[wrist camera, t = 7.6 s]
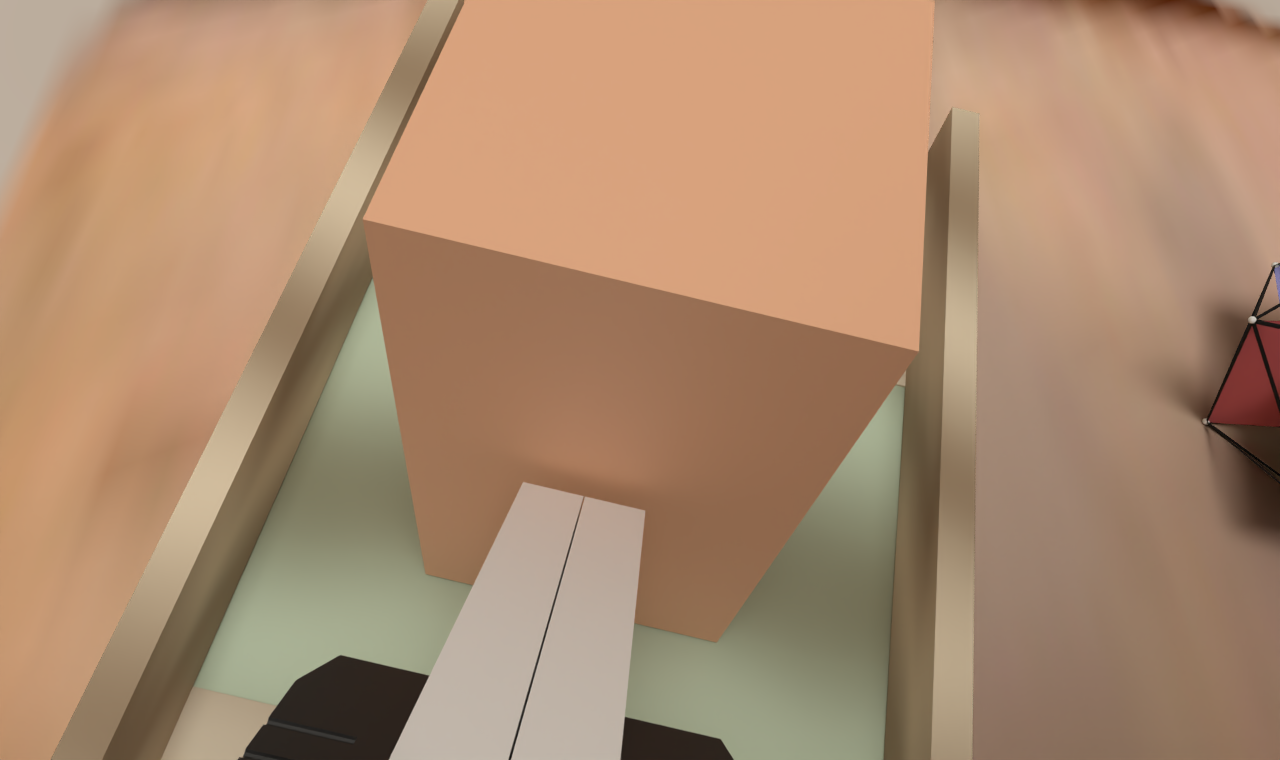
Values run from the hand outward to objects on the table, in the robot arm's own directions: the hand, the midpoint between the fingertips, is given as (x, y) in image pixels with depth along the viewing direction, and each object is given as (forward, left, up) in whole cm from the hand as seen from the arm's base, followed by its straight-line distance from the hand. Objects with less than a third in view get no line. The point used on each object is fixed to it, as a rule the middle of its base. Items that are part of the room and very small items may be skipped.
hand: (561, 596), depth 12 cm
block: (-3, -2, -4) cm, 6 cm away
